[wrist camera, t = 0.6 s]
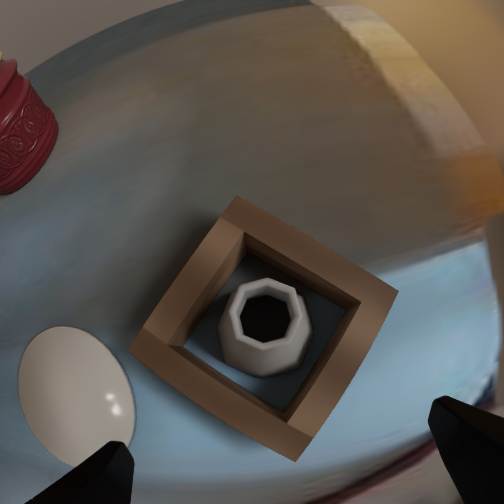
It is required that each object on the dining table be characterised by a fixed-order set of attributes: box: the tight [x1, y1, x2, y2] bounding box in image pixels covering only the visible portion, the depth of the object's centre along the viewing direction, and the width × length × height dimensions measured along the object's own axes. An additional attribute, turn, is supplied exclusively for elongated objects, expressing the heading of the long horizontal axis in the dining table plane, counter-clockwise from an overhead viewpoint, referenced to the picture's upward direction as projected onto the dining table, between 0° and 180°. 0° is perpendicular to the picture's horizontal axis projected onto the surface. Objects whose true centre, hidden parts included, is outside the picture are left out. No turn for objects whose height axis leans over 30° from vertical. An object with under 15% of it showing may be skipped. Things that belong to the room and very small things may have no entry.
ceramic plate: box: [18, 326, 136, 467], centre depth 20 cm, size 13×13×1 cm
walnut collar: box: [128, 195, 399, 462], centre depth 20 cm, size 13×13×4 cm
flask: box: [216, 278, 314, 379], centre depth 18 cm, size 7×7×10 cm
